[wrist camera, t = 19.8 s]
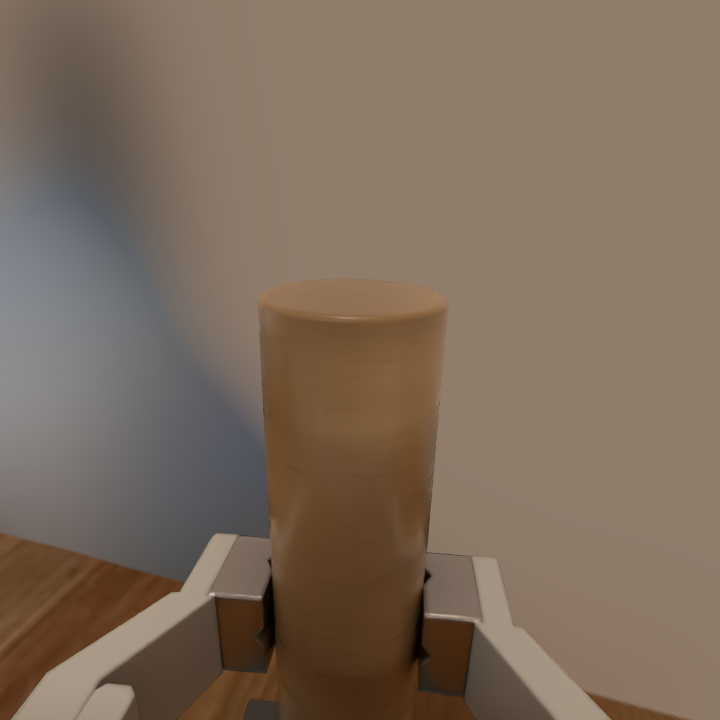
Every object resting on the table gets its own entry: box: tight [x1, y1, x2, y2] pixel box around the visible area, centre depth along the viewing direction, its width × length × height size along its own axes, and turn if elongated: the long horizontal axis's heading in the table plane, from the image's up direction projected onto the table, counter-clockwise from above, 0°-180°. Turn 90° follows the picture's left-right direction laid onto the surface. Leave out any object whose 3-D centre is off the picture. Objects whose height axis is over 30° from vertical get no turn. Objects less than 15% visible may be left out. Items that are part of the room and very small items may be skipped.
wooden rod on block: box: [243, 279, 448, 720], centre depth 9 cm, size 6×4×15 cm, turn 84°
